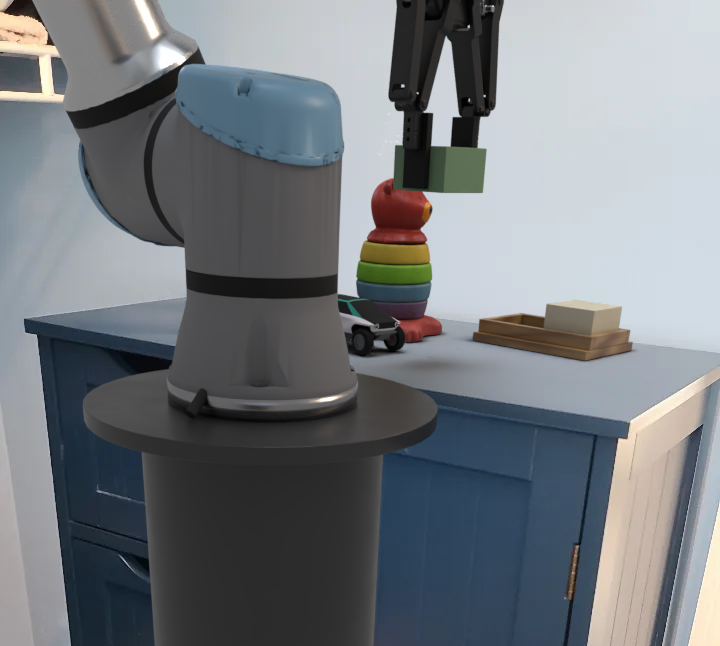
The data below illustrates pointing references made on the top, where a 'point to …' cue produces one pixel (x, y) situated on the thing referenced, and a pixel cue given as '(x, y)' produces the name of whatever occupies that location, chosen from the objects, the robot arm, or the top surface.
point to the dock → (549, 337)
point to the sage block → (447, 170)
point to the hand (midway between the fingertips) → (438, 188)
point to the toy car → (368, 324)
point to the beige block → (582, 317)
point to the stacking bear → (399, 260)
